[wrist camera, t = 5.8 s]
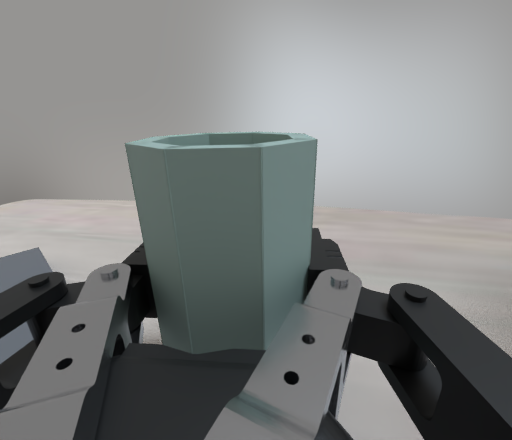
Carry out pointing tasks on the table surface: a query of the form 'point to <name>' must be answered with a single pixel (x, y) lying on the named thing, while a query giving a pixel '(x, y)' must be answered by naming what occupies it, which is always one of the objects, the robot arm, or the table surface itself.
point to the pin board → (8, 275)
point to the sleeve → (225, 233)
